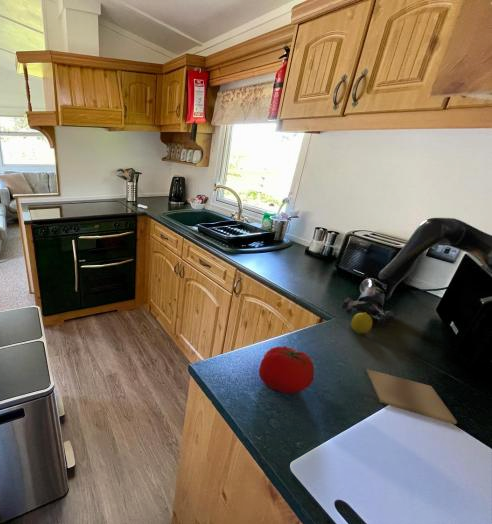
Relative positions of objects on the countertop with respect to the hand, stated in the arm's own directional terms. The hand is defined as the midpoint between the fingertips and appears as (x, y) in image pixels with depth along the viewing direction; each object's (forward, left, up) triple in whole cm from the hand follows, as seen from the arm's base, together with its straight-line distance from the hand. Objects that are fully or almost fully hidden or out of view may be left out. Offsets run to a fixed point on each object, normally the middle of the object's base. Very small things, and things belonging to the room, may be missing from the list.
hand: (364, 316), depth 97 cm
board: (-3, +29, -6) cm, 30 cm away
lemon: (+1, +1, -6) cm, 6 cm away
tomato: (+26, +40, -6) cm, 48 cm away
